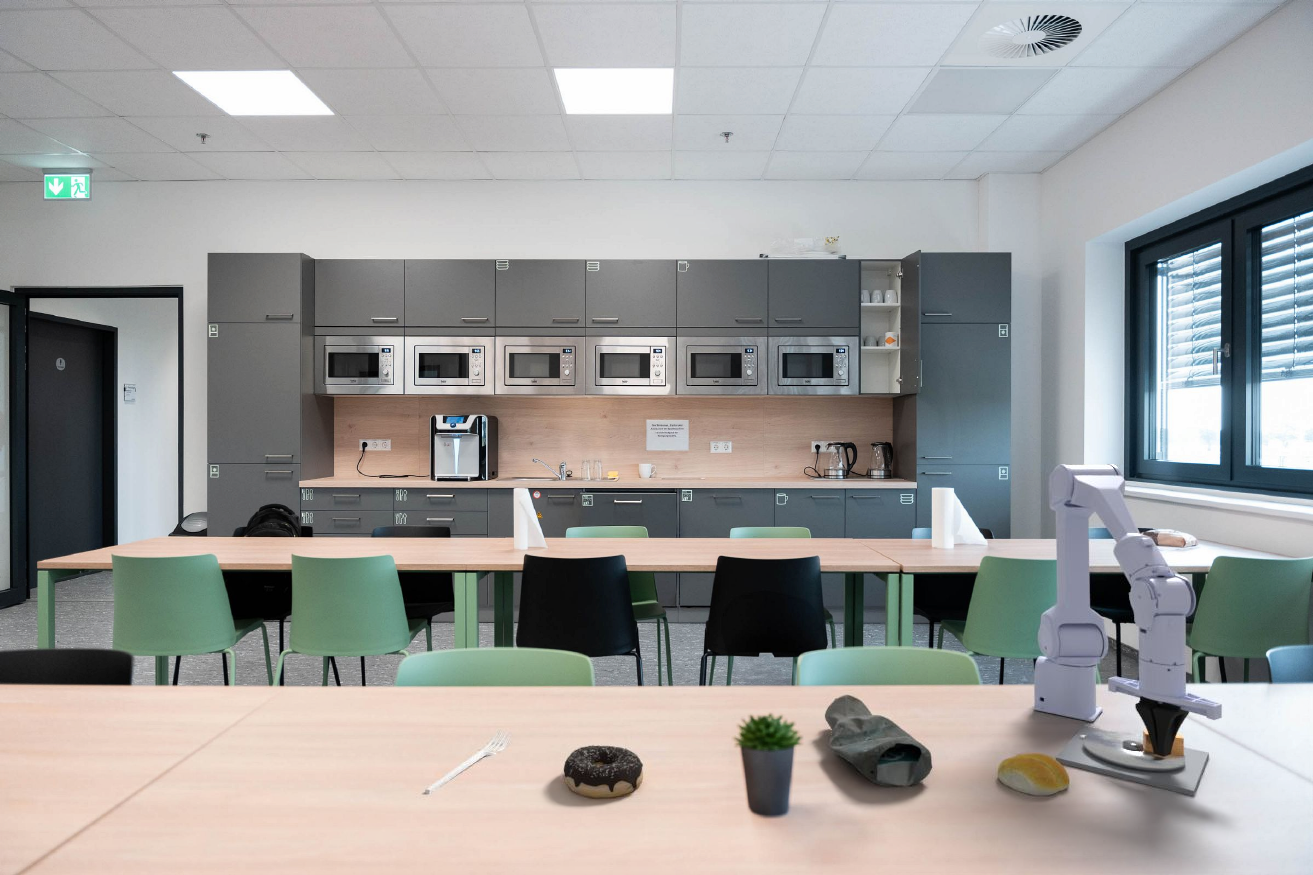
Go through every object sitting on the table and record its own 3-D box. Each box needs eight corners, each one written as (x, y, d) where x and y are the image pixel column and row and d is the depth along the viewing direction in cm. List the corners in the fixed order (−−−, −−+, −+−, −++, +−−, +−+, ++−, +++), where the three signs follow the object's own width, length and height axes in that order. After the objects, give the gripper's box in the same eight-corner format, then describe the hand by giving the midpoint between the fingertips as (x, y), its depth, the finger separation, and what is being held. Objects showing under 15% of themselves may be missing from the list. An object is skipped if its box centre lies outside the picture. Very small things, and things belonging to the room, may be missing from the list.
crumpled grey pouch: (947, 790, 107) (881, 720, 131) (943, 738, 106) (878, 678, 131) (854, 801, 106) (805, 729, 131) (849, 749, 105) (801, 687, 130)
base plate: (1055, 761, 116) (1055, 755, 116) (1083, 729, 129) (1083, 723, 129) (1193, 795, 105) (1193, 788, 105) (1208, 757, 117) (1208, 750, 117)
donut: (581, 808, 102) (582, 778, 102) (551, 774, 112) (551, 746, 112) (657, 791, 107) (657, 762, 107) (620, 760, 117) (620, 733, 117)
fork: (417, 794, 106) (417, 780, 106) (496, 741, 125) (496, 730, 125) (437, 798, 105) (437, 784, 105) (513, 744, 124) (513, 732, 124)
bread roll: (1079, 786, 108) (1079, 757, 108) (1043, 803, 103) (1042, 772, 103) (1023, 765, 115) (1023, 738, 115) (986, 780, 110) (986, 751, 110)
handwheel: (1090, 763, 113) (1090, 740, 113) (1077, 731, 125) (1077, 711, 125) (1196, 776, 108) (1196, 753, 108) (1172, 742, 120) (1172, 721, 120)
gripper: (1232, 668, 109) (1233, 766, 108) (1126, 644, 121) (1126, 732, 121) (1206, 676, 105) (1206, 776, 105) (1100, 650, 118) (1100, 741, 118)
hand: (1162, 753), depth 113 cm, fingers closed
